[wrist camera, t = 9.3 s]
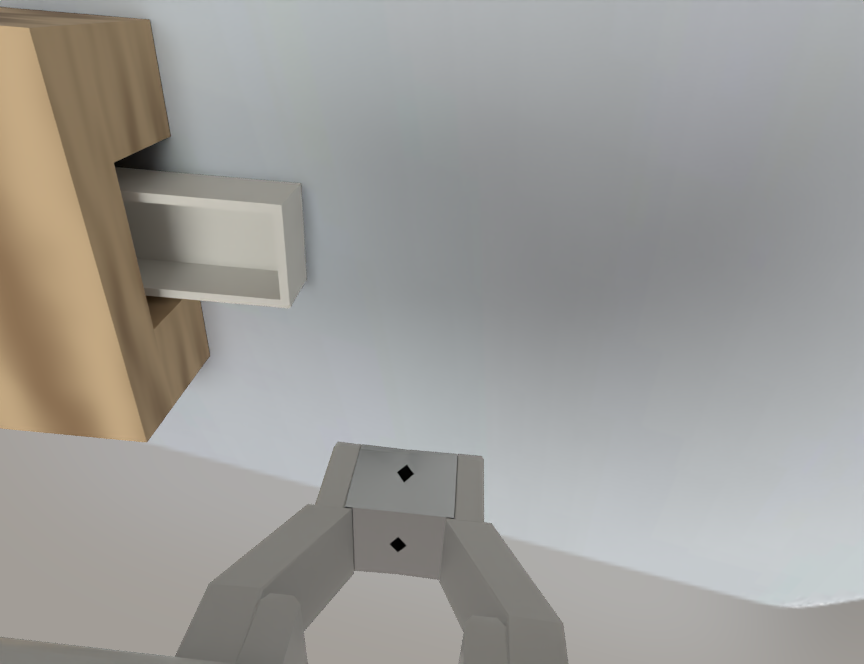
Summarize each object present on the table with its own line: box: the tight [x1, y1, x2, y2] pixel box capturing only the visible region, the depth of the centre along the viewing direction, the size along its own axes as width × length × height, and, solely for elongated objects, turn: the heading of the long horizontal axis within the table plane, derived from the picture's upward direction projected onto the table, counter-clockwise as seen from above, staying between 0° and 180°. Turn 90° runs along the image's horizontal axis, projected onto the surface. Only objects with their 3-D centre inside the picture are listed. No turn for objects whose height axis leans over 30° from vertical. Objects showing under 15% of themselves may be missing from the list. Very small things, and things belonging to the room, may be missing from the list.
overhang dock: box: [0, 7, 210, 442], centre depth 28 cm, size 8×20×8 cm, turn 176°
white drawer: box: [115, 167, 307, 308], centre depth 30 cm, size 14×6×4 cm, turn 86°
